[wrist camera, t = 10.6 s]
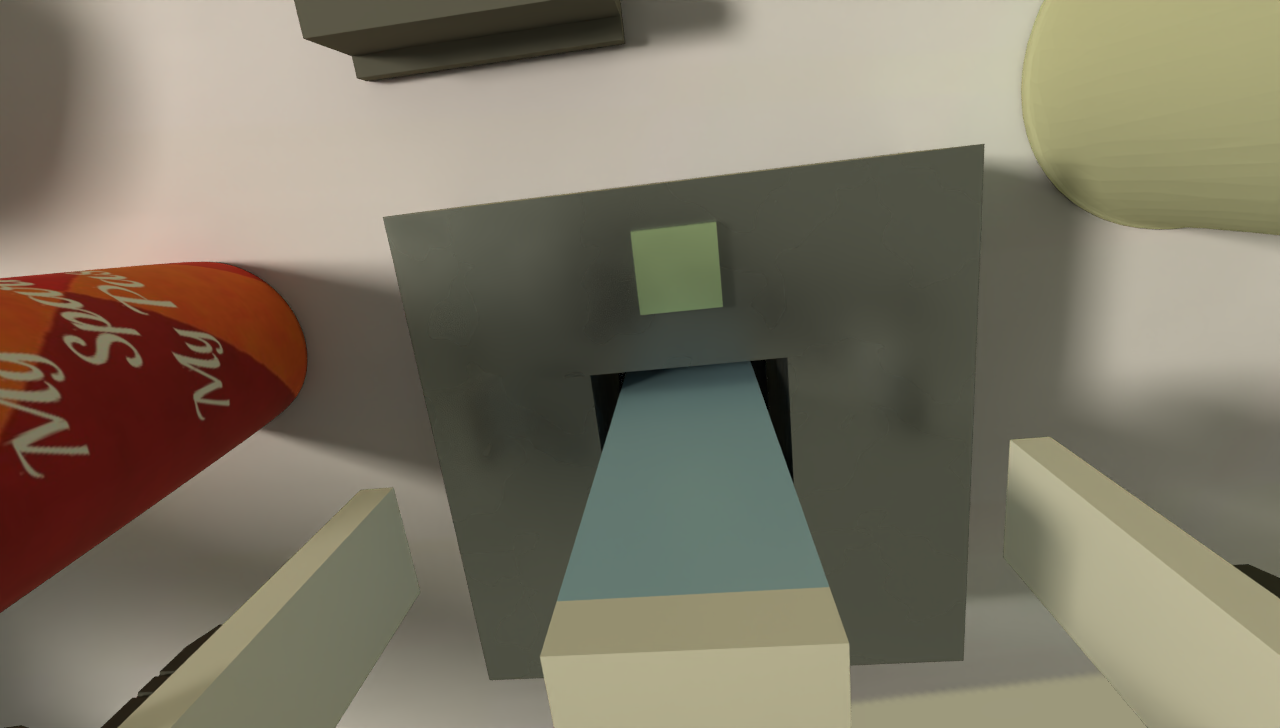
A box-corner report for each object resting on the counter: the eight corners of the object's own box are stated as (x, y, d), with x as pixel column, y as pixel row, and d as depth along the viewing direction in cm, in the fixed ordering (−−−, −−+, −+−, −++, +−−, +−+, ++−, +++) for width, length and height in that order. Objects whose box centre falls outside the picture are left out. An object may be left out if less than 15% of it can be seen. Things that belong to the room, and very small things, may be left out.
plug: (646, 444, 22) (582, 873, 8) (634, 346, 21) (540, 656, 7) (748, 436, 21) (854, 871, 8) (741, 336, 20) (849, 643, 7)
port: (528, 578, 24) (486, 687, 19) (455, 207, 20) (377, 218, 15) (903, 556, 22) (967, 668, 17) (906, 152, 18) (990, 143, 13)
